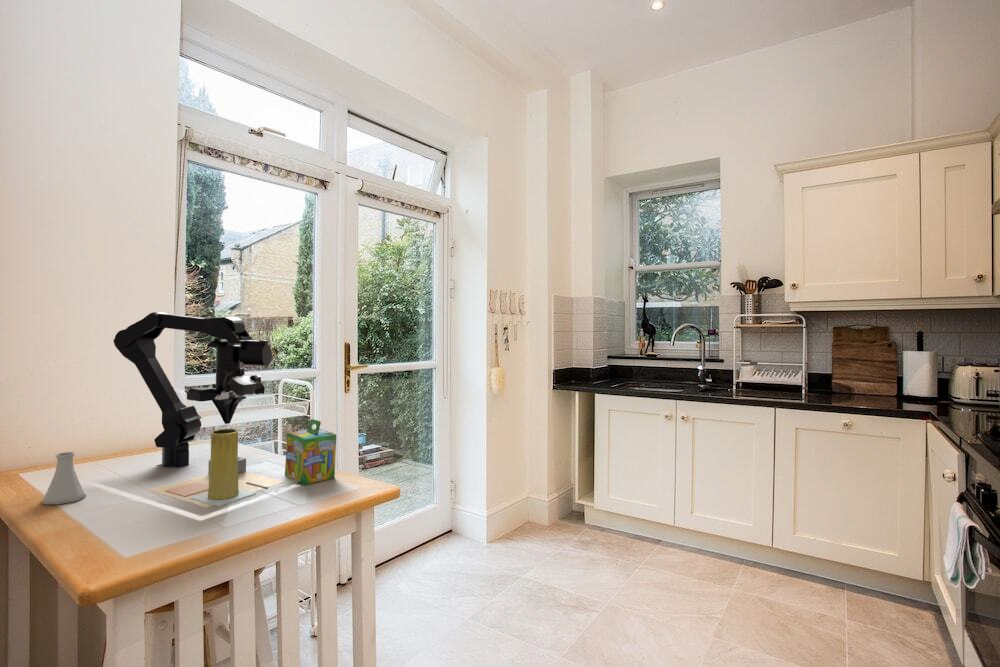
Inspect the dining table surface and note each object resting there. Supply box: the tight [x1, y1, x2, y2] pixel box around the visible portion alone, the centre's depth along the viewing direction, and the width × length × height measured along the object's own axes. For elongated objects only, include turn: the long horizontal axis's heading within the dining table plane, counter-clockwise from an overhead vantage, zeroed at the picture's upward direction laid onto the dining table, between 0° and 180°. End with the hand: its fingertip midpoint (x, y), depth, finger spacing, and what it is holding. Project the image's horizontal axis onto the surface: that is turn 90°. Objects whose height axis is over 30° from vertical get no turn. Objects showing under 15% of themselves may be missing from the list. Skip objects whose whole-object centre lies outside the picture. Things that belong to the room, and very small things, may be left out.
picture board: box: [149, 471, 286, 509], centre depth 119 cm, size 22×20×1 cm
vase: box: [208, 428, 239, 500], centre depth 112 cm, size 6×6×14 cm
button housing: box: [207, 456, 247, 475], centre depth 129 cm, size 6×6×4 cm
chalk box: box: [284, 418, 337, 486], centre depth 130 cm, size 9×9×15 cm
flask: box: [42, 451, 86, 505], centre depth 109 cm, size 7×7×10 cm
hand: (227, 423), depth 134 cm, fingers closed
